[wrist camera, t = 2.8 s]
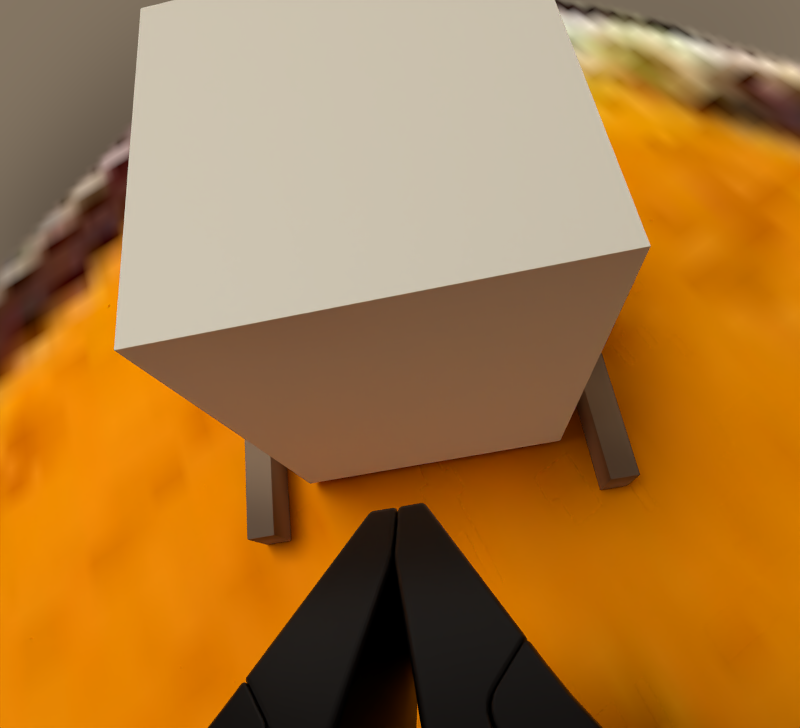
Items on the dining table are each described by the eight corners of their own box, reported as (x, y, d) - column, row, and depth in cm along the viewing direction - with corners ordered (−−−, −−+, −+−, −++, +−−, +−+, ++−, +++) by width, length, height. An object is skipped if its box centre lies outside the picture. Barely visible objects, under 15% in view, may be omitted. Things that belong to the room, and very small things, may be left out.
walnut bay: (626, 485, 21) (647, 468, 19) (266, 544, 22) (236, 536, 20) (494, 52, 31) (495, -1, 28) (249, 107, 32) (227, 61, 29)
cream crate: (560, 440, 22) (650, 246, 10) (310, 483, 22) (114, 350, 11) (505, 232, 26) (521, -84, 14) (294, 274, 26) (140, 8, 15)
